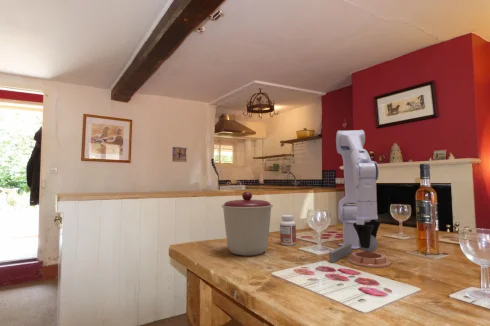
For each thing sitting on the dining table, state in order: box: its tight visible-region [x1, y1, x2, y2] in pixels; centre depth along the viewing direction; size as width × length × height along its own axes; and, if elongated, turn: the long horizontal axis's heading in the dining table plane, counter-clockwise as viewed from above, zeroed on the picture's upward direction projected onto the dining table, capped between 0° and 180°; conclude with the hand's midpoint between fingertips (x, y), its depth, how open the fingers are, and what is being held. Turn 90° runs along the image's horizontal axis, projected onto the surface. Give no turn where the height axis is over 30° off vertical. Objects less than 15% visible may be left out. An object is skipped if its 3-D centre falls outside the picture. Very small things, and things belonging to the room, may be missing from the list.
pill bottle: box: [279, 214, 297, 246], centre depth 115 cm, size 6×6×11 cm
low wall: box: [328, 243, 353, 264], centre depth 94 cm, size 16×1×3 cm, turn 141°
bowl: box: [347, 250, 391, 268], centre depth 89 cm, size 12×12×2 cm
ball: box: [358, 235, 379, 253], centre depth 89 cm, size 6×6×6 cm
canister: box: [221, 191, 274, 257], centre depth 102 cm, size 18×18×21 cm
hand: (368, 245), depth 89 cm, fingers closed on ball, 5 cm apart
